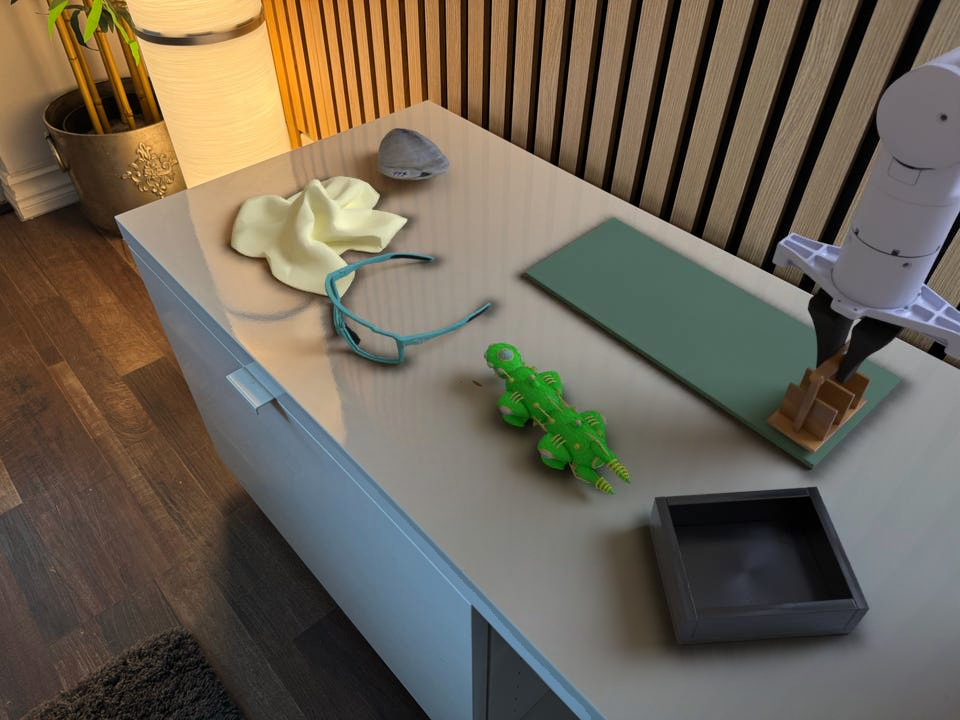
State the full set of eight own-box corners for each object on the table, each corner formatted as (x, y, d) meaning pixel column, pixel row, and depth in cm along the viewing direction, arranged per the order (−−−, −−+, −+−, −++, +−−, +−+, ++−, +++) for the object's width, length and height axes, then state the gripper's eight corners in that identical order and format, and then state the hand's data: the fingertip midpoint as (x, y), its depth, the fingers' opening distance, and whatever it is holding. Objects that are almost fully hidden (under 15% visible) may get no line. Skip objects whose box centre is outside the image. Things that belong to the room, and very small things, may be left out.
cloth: (209, 218, 89) (193, 172, 85) (349, 166, 96) (341, 121, 92) (287, 321, 76) (273, 274, 72) (442, 253, 83) (438, 206, 79)
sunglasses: (303, 310, 77) (297, 270, 74) (422, 262, 84) (422, 223, 81) (379, 388, 69) (376, 347, 66) (503, 327, 77) (506, 288, 73)
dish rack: (818, 375, 67) (845, 313, 62) (865, 403, 65) (897, 341, 59) (765, 422, 64) (789, 361, 58) (813, 454, 61) (842, 393, 56)
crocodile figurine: (520, 352, 72) (520, 319, 69) (650, 479, 61) (657, 447, 58) (462, 382, 70) (459, 349, 67) (588, 520, 59) (592, 489, 56)
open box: (803, 514, 59) (817, 486, 56) (851, 633, 52) (870, 608, 49) (648, 524, 59) (654, 496, 56) (677, 645, 52) (686, 620, 49)
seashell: (357, 164, 96) (351, 128, 93) (413, 143, 100) (409, 108, 96) (405, 207, 90) (400, 170, 86) (463, 183, 93) (461, 146, 89)
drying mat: (899, 382, 68) (901, 378, 67) (812, 469, 62) (814, 465, 61) (613, 221, 86) (614, 217, 86) (524, 276, 80) (524, 271, 80)
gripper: (768, 210, 53) (729, 347, 63) (978, 312, 45) (896, 450, 55) (823, 171, 56) (778, 308, 66) (1030, 260, 48) (943, 400, 58)
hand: (835, 370), depth 60 cm, fingers closed on dish rack
